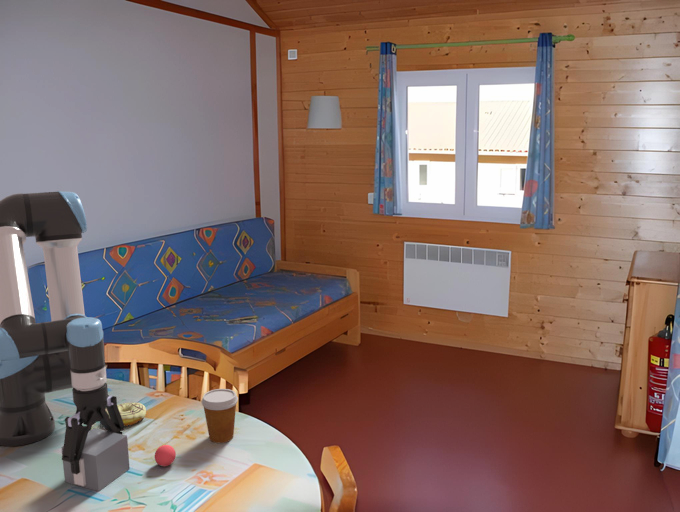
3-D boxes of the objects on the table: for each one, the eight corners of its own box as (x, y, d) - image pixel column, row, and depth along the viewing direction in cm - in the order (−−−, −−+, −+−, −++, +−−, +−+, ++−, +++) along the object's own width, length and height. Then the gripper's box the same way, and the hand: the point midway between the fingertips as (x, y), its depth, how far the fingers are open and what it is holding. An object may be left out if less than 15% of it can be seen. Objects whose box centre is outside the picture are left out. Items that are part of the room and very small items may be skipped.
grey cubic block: (64, 481, 146) (61, 447, 144) (96, 460, 155) (94, 428, 153) (98, 491, 142) (95, 455, 140) (129, 469, 151) (127, 435, 149)
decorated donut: (152, 420, 177) (152, 408, 176) (115, 432, 170) (114, 419, 169) (137, 408, 184) (136, 396, 184) (101, 419, 177) (100, 407, 177)
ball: (150, 467, 152) (149, 448, 151) (163, 457, 156) (162, 439, 155) (167, 471, 150) (166, 452, 149) (180, 461, 154) (179, 443, 153)
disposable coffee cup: (231, 447, 161) (229, 404, 158) (197, 444, 163) (195, 401, 160) (244, 430, 170) (243, 389, 168) (211, 427, 172) (209, 386, 169)
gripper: (63, 407, 132) (72, 501, 136) (136, 369, 153) (142, 452, 157) (37, 402, 135) (47, 494, 139) (112, 365, 155) (118, 447, 160)
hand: (97, 472), depth 148 cm, fingers closed on grey cubic block, 10 cm apart
